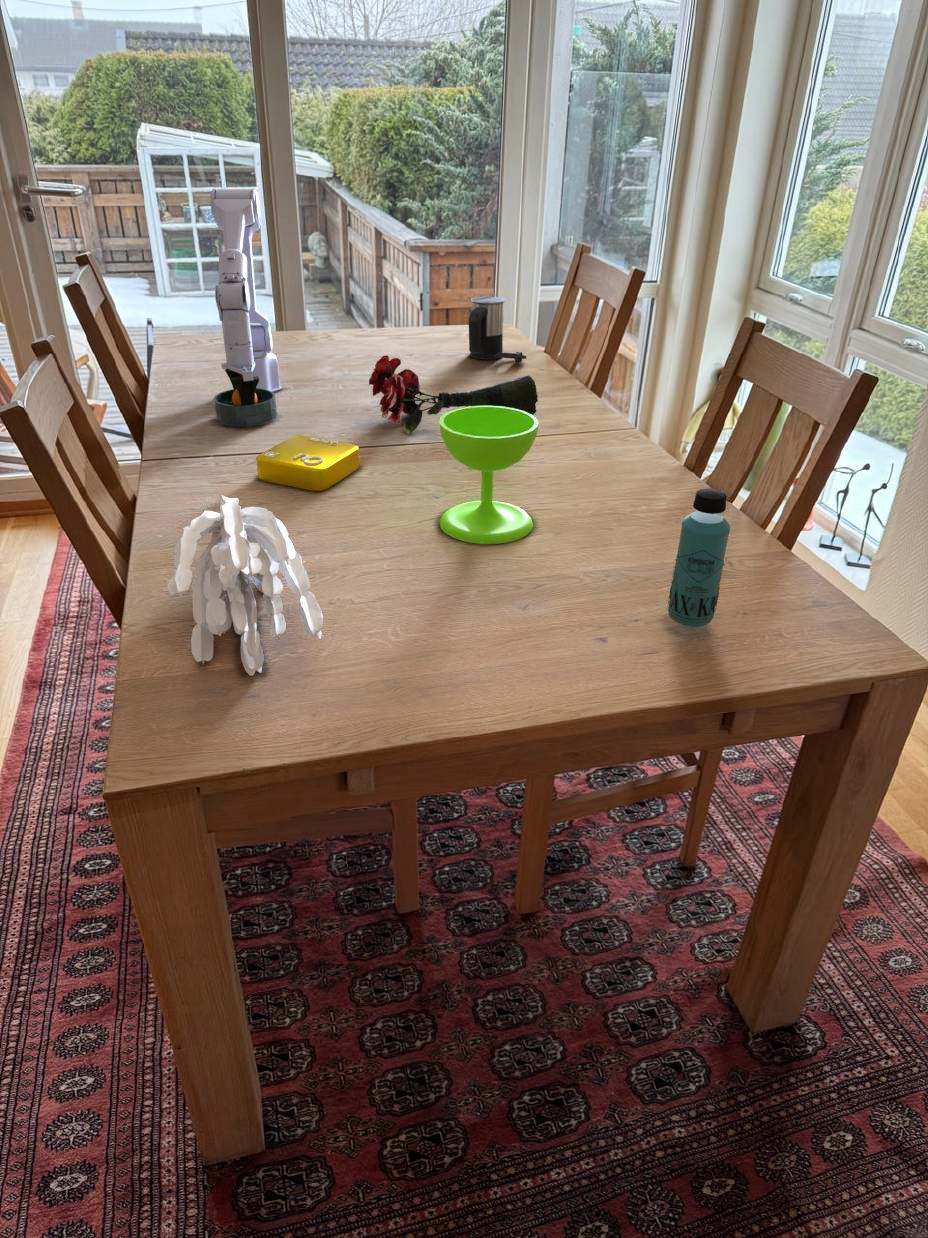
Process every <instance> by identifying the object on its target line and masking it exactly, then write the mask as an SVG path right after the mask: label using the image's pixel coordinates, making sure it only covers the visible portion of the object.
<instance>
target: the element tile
mask: <svg viewBox="0 0 928 1238" xmlns="http://www.w3.org/2000/svg"><path fill="white" fill-rule="evenodd" d="M359 450H360V449H359V446H358V445H357V444H353V443H348V442H342V441H337V440H333V439H326V438H320V437H315V436H309V435H304V434H296V435H294V436H291V437H289V438H287V439H285V440H284V441H282V442H280V443H278V444H276V445H275V446H273V447H271V448H268V449H267V450H265V451H263V452H262V453H260V454H258V455H256V457H255V461H256V470H257V477H258V479H259V480H261V481H263V482H268V483H272V484H276V485H277V484H278V485H282V486H286V487H287V486H288V487H290V488H291V487H292V488H297V489H302V490H307V491H312V492H323V491H326V490H328V489H329V488H331V487H333V486H334V485H336V484H337V483H339V482H340V481H342V480H343V479H345V478H346V477H348V476H350V475H351V474H352V473H354V472H356V471H357V470H358V469H359V468H360V451H359Z"/></svg>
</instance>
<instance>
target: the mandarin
mask: <svg viewBox="0 0 928 1238" xmlns="http://www.w3.org/2000/svg"><path fill="white" fill-rule="evenodd" d="M232 402H233V405H235V406H240V405H241V401H240V397H239V394H238V391H237V389H236V390H235V391H234V393H233V395H232ZM254 404H257V395H256V393H255V399H254Z"/></svg>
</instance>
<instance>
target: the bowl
mask: <svg viewBox="0 0 928 1238" xmlns="http://www.w3.org/2000/svg"><path fill="white" fill-rule="evenodd" d="M233 393H234V389H233V388H232V389H228V390H224V391H220V392H219V393H217V394H215V395H214V397H213V398H212V399H213V406H214V413H215V415H214V416H215V419H216V421H217V422H219V423H220V424H223V425H226V426H230V427H235V428H250V427H257V426H261V425H264V424H267V423H269V422H271V421H273V420H274V419H276V418H277V416H278V410H277V402H276V401H277V400H276V399H277V398H276V394H275V392H271V391H269V390H265V389H260V388H256V391H255V393H256V395H257V404H254V405H240V406H235V405H233V402H232V395H233Z"/></svg>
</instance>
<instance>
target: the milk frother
mask: <svg viewBox="0 0 928 1238" xmlns="http://www.w3.org/2000/svg"><path fill="white" fill-rule="evenodd" d="M470 301H471V311H470V314H469V317H468V347H469V348H468V350H469V351H468V352H470V353H469V356H470V357H471V358H474V359H478V360H487V361H488V360H499V359H513V360H514V362H515V363H522V362H523V360H526V359H527V355H524V354H523V352H522V351H516V352H515V353H514V352H504V315H505V314H504V313H505V311H504V310H505V302H506V299H505V298H503V297H499V296H491V295H483V296H480V295H479V296H475V297H471V298H470Z"/></svg>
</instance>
